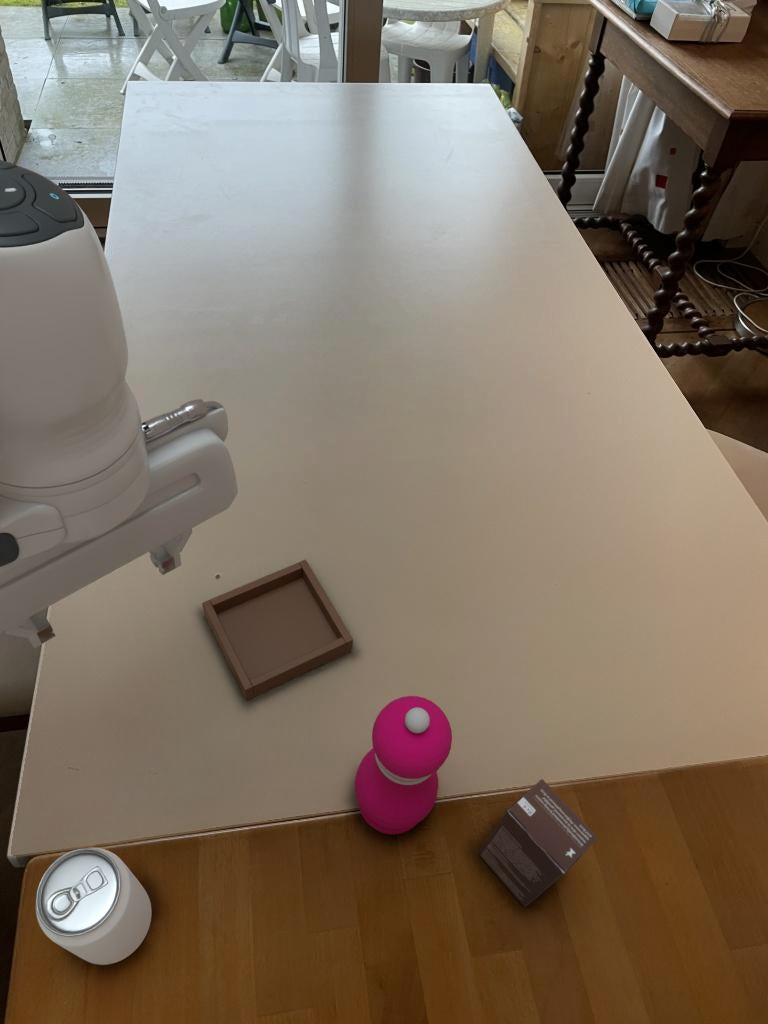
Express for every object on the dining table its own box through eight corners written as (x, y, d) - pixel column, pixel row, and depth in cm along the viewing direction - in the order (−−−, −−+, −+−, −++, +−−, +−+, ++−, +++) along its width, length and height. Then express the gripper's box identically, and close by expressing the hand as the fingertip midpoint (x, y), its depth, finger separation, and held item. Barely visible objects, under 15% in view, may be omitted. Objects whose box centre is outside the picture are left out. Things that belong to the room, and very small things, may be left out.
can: (55, 913, 64) (12, 882, 54) (128, 860, 66) (99, 822, 57) (93, 985, 61) (55, 966, 51) (167, 927, 64) (144, 899, 54)
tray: (246, 700, 76) (245, 690, 74) (204, 614, 81) (201, 602, 79) (352, 650, 80) (353, 639, 78) (305, 571, 85) (305, 559, 83)
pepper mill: (445, 816, 71) (489, 737, 55) (376, 856, 68) (400, 785, 52) (406, 746, 74) (435, 652, 58) (338, 781, 72) (349, 694, 56)
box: (558, 872, 69) (601, 837, 59) (523, 909, 67) (562, 879, 57) (509, 818, 71) (542, 775, 62) (474, 851, 69) (503, 813, 60)
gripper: (195, 360, 49) (209, 500, 60) (-155, 510, 39) (-64, 646, 50) (254, 418, 47) (258, 554, 57) (-106, 594, 37) (-20, 718, 48)
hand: (105, 598), depth 54 cm, fingers open, 8 cm apart
